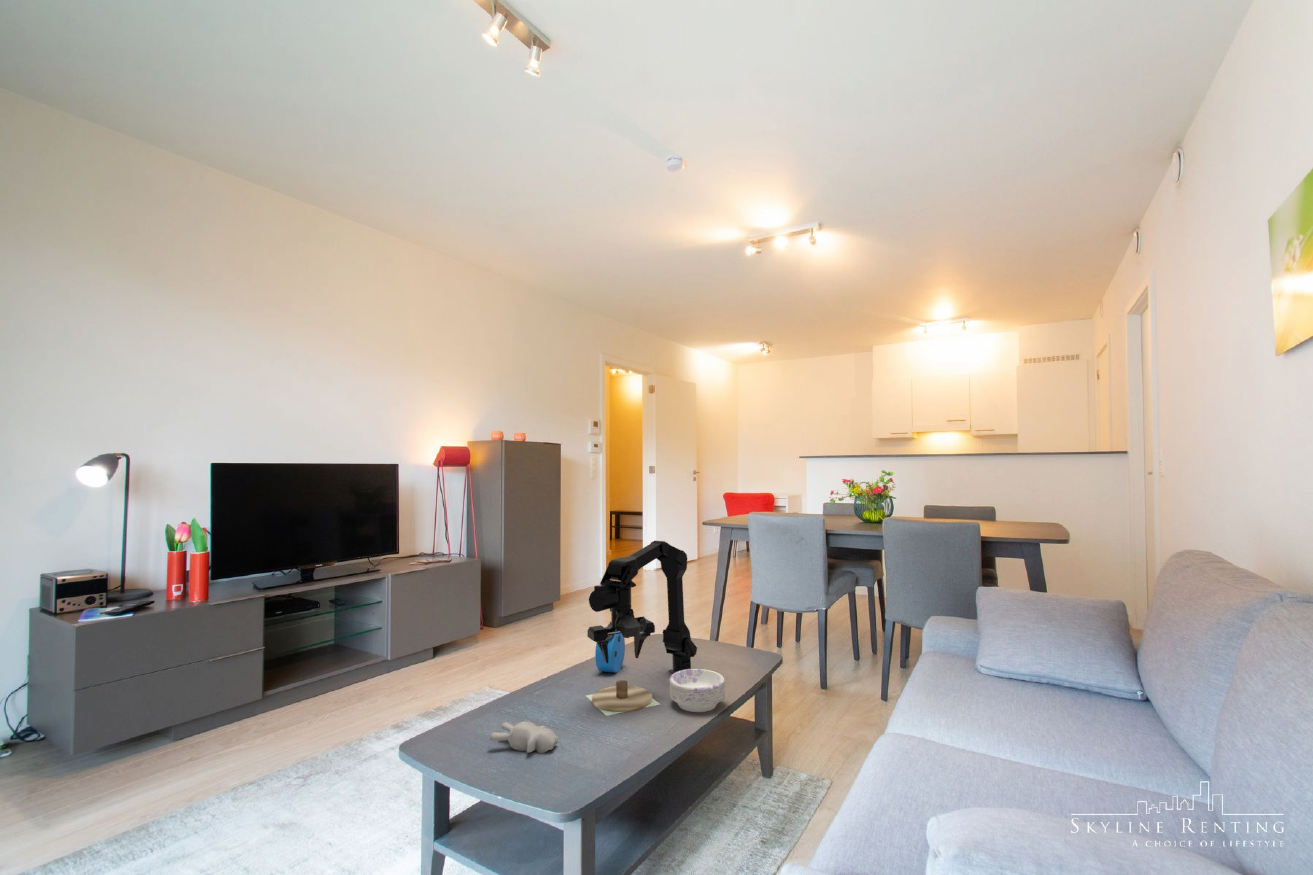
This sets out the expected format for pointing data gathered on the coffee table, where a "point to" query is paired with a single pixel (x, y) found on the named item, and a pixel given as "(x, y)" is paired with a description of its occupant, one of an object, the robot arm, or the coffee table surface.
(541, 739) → the bunny figurine
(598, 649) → the alarm clock
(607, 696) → the lid
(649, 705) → the mat
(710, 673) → the white and purple bowl
